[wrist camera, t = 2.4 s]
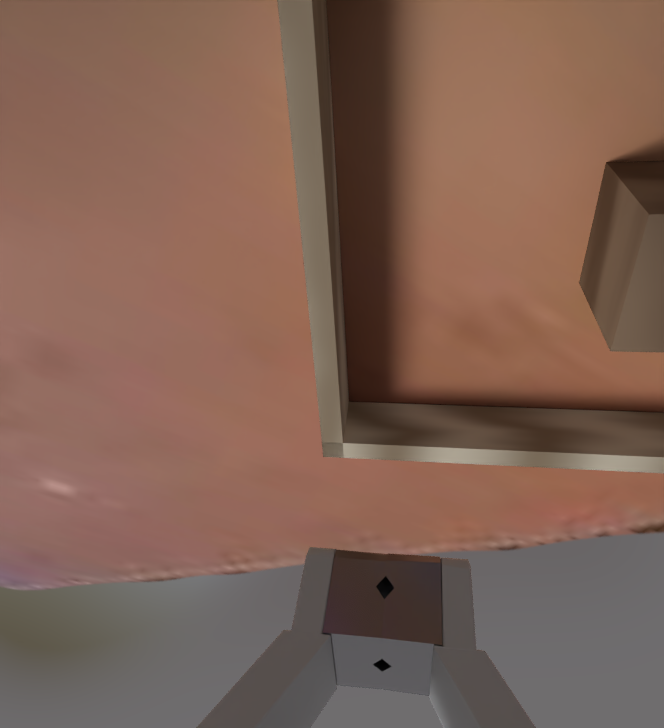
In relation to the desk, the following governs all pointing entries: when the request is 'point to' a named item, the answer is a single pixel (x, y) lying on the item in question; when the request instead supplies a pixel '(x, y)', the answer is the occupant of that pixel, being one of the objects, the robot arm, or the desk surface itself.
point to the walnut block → (628, 257)
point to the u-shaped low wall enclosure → (326, 312)
